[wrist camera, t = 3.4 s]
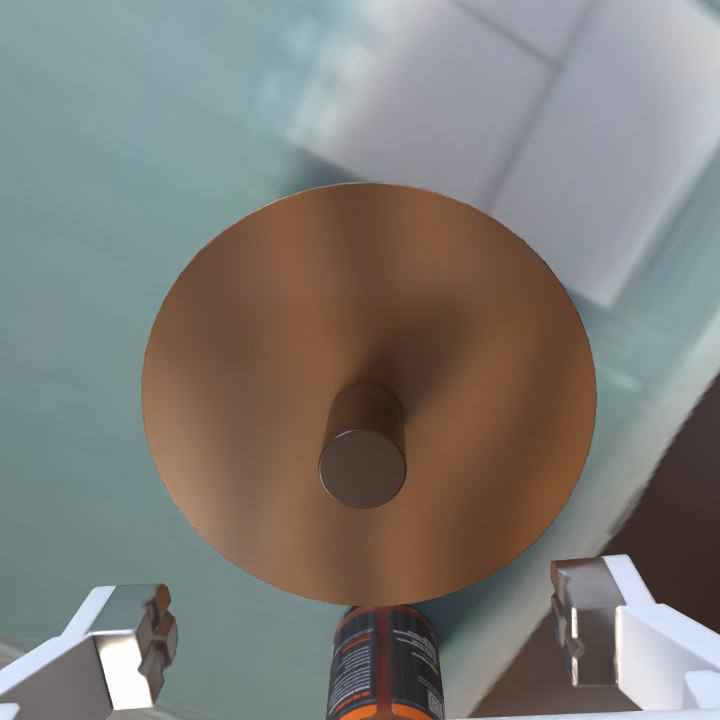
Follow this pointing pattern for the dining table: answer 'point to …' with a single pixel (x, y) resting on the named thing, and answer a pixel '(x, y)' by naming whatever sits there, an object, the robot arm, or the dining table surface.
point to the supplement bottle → (385, 667)
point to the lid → (369, 394)
